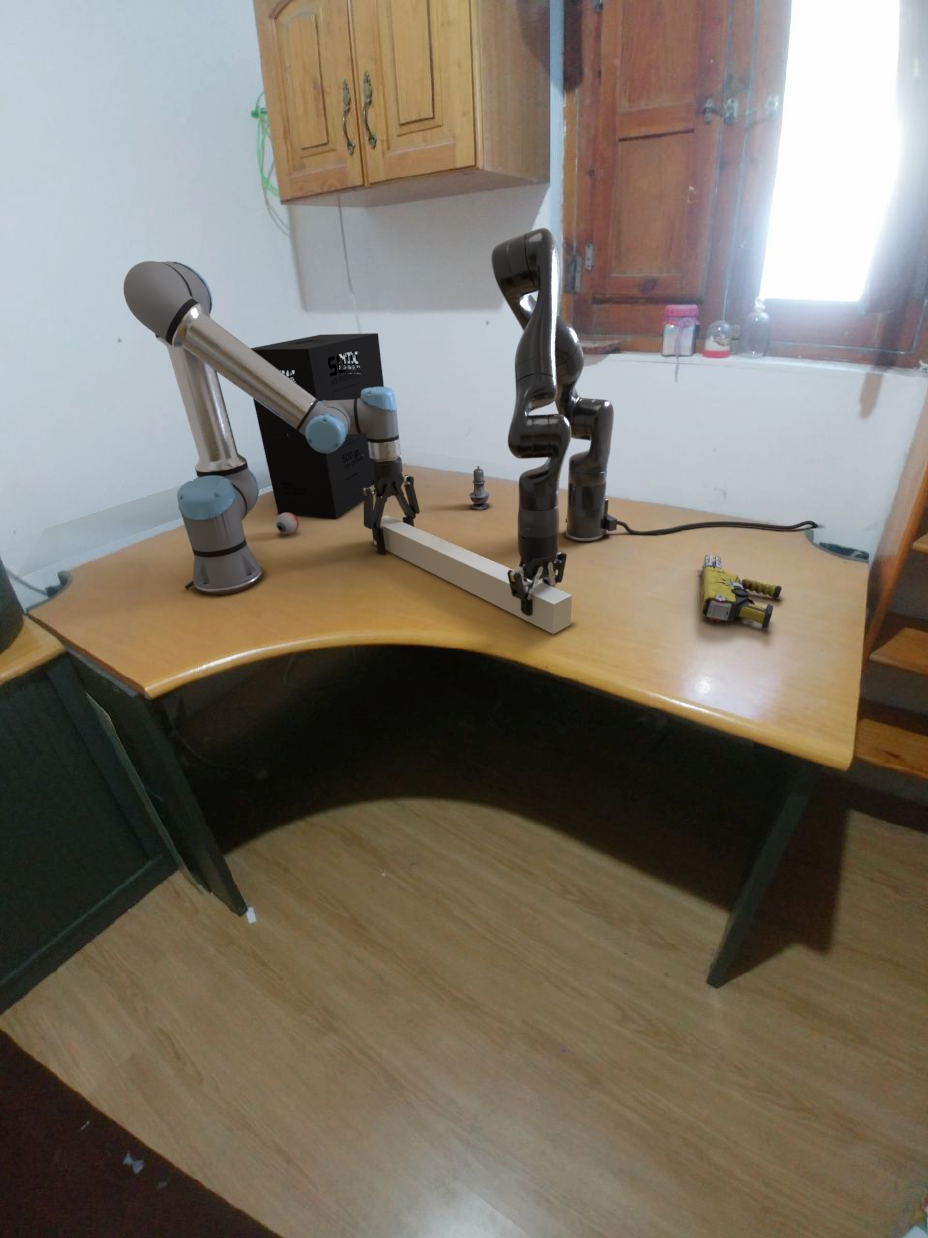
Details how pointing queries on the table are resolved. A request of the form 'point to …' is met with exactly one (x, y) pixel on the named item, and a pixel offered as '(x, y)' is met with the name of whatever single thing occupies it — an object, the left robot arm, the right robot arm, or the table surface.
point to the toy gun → (732, 595)
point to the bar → (475, 574)
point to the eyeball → (287, 523)
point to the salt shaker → (479, 491)
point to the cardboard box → (292, 463)
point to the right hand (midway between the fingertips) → (537, 608)
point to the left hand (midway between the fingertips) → (395, 546)
